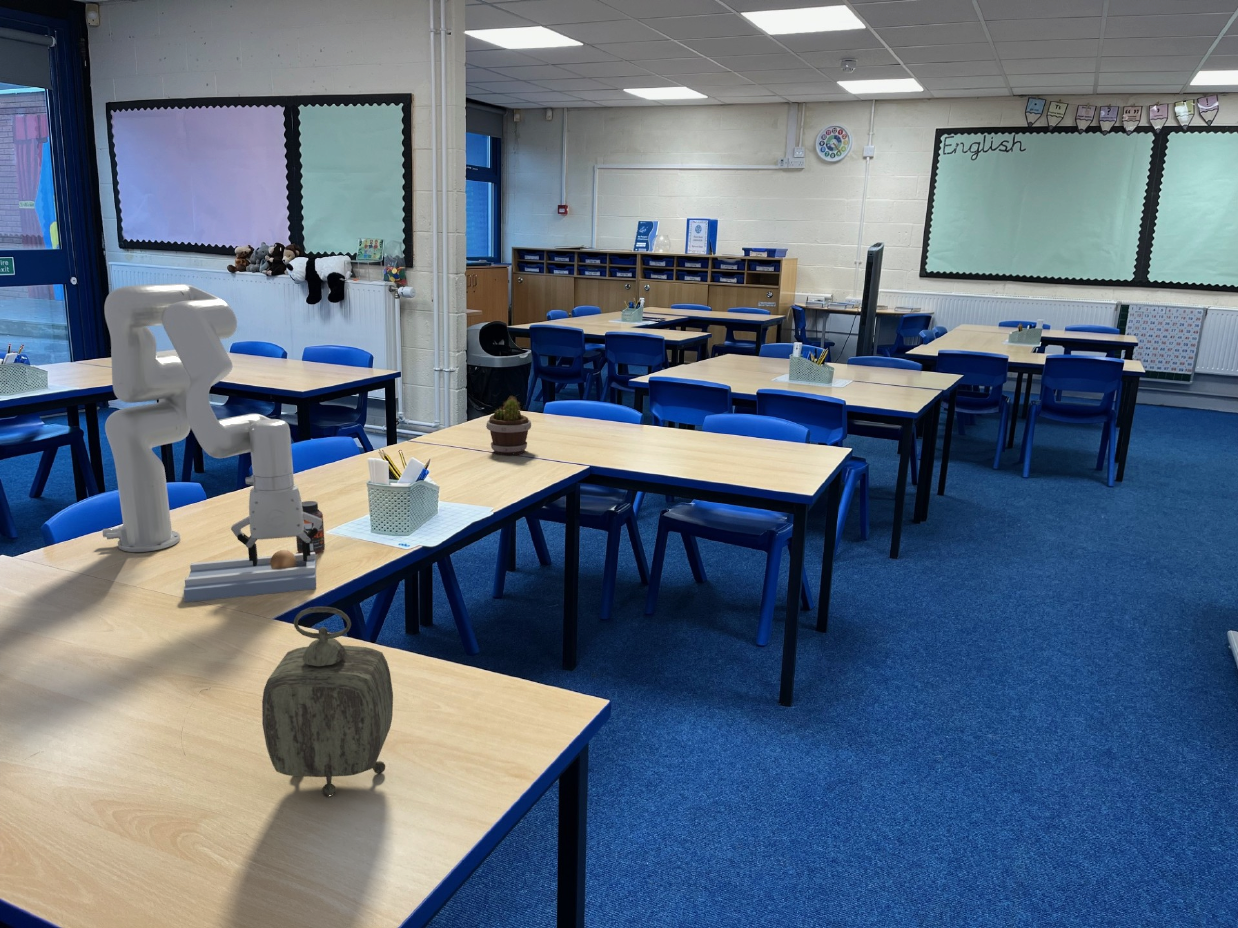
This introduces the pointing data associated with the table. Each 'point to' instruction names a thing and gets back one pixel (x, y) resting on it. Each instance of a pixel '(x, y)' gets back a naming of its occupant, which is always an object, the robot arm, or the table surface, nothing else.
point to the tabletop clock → (327, 707)
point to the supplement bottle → (318, 540)
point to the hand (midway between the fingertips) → (280, 561)
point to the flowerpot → (509, 429)
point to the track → (247, 578)
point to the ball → (283, 560)
